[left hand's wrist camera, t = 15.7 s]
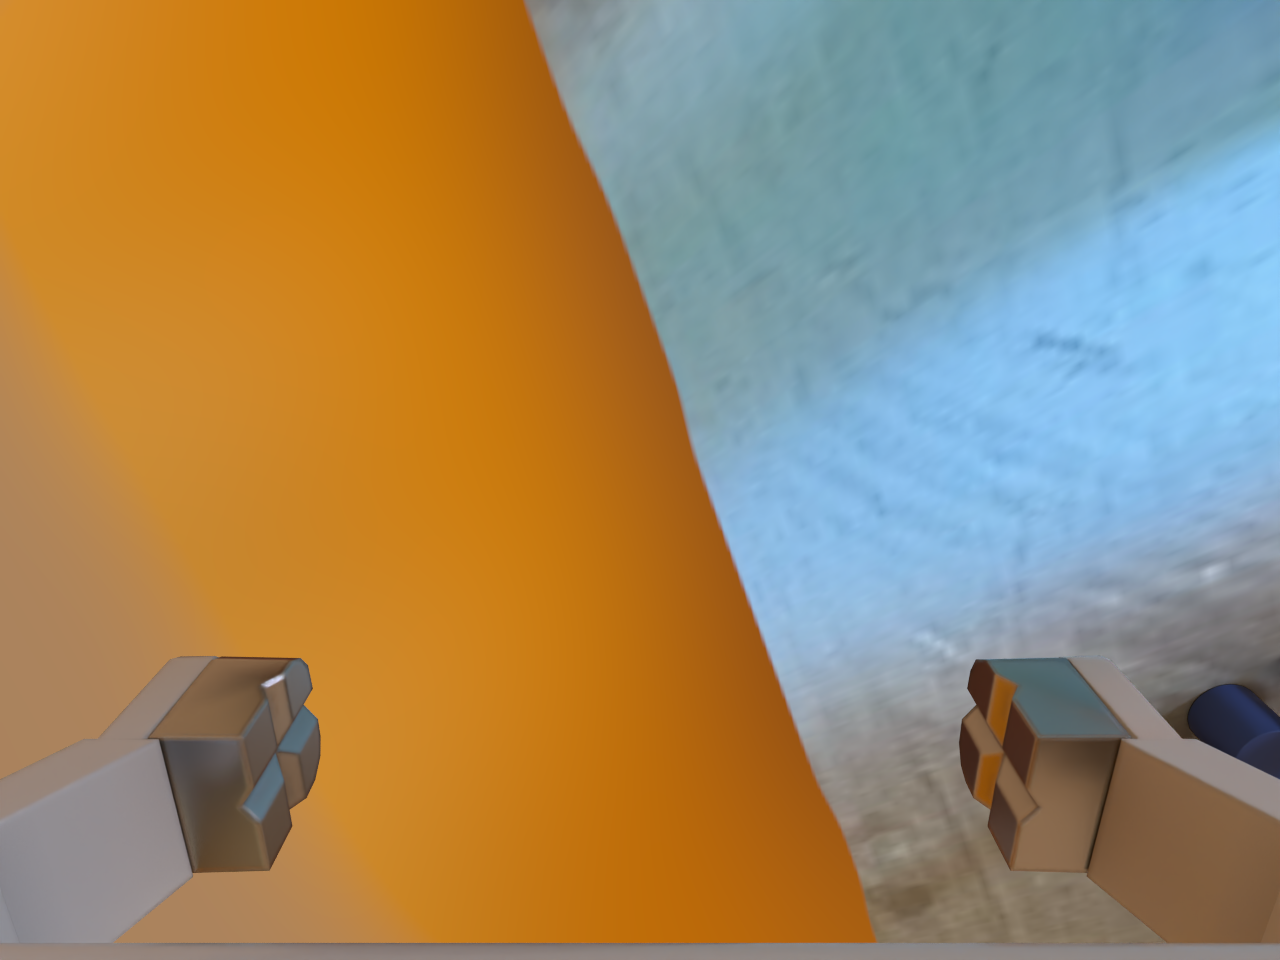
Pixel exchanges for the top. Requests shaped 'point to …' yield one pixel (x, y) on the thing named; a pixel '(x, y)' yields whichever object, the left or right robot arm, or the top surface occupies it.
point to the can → (1238, 726)
